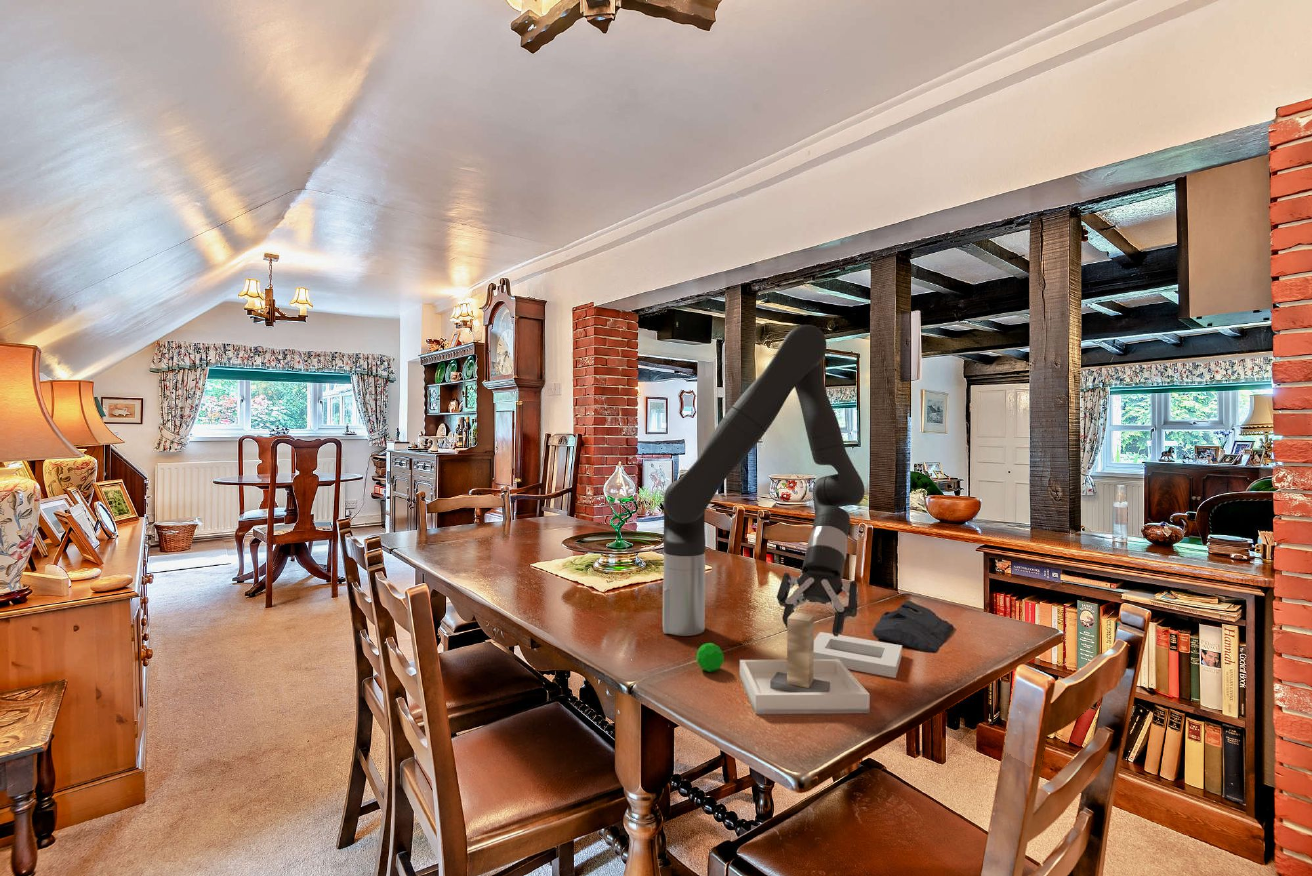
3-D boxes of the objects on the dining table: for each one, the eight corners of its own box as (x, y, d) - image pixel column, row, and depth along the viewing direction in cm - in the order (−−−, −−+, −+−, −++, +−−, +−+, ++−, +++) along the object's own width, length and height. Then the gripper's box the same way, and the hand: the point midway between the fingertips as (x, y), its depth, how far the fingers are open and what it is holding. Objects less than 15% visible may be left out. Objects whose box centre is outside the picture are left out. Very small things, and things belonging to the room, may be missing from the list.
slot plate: (806, 661, 113) (806, 650, 113) (819, 641, 123) (820, 631, 123) (895, 678, 105) (895, 667, 105) (902, 655, 116) (902, 645, 116)
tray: (755, 714, 91) (755, 695, 91) (739, 676, 105) (739, 659, 105) (869, 713, 92) (869, 694, 92) (838, 675, 106) (838, 659, 106)
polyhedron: (690, 669, 108) (691, 644, 108) (708, 662, 112) (708, 637, 112) (711, 678, 105) (711, 651, 105) (728, 670, 108) (729, 644, 108)
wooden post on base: (770, 688, 99) (770, 616, 99) (777, 678, 103) (778, 609, 103) (824, 699, 95) (825, 624, 95) (829, 689, 99) (830, 617, 99)
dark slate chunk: (859, 641, 125) (859, 618, 125) (886, 614, 143) (887, 595, 143) (937, 657, 116) (938, 634, 116) (956, 627, 134) (957, 607, 134)
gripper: (786, 540, 116) (768, 613, 106) (861, 547, 109) (849, 626, 100) (793, 561, 121) (776, 633, 111) (865, 569, 114) (854, 647, 104)
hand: (810, 630), depth 105 cm, fingers open, 8 cm apart
